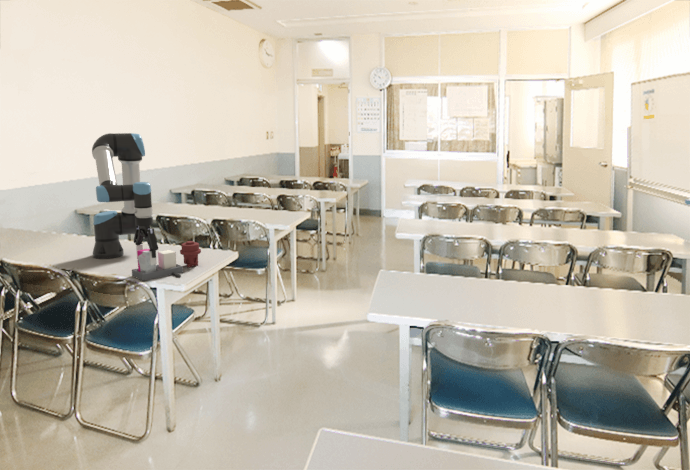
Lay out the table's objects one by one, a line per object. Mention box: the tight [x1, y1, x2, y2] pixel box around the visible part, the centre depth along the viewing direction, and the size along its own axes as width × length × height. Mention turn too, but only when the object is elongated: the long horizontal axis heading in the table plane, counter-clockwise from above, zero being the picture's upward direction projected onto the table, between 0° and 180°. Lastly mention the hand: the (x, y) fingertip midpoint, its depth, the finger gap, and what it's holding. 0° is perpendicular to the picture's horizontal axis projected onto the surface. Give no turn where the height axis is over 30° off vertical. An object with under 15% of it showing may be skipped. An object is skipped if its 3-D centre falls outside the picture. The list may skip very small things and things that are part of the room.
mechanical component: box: [179, 240, 202, 268], centre depth 264 cm, size 12×10×10 cm
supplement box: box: [136, 248, 157, 273], centre depth 246 cm, size 6×6×12 cm
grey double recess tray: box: [131, 249, 184, 282], centre depth 247 cm, size 18×20×10 cm
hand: (146, 261), depth 246 cm, fingers open, 13 cm apart
